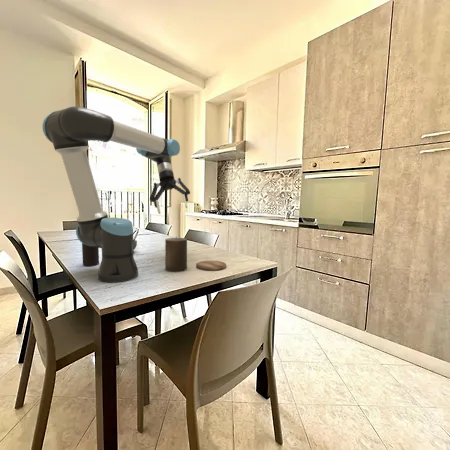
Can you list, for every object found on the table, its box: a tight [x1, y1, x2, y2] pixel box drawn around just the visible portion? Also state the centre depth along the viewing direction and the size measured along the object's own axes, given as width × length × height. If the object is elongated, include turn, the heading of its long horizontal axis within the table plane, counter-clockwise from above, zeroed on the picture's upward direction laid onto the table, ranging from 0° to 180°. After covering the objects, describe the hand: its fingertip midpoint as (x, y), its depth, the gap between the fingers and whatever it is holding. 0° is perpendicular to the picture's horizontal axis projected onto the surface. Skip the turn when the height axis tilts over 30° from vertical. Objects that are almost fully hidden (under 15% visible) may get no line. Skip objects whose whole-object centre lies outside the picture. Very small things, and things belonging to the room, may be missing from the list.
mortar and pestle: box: [133, 239, 138, 254], centre depth 147 cm, size 11×9×12 cm
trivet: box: [195, 260, 227, 272], centre depth 121 cm, size 14×14×1 cm
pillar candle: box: [164, 236, 188, 273], centre depth 116 cm, size 10×10×15 cm
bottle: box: [81, 242, 100, 267], centre depth 120 cm, size 7×7×20 cm
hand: (172, 209), depth 128 cm, fingers open, 13 cm apart
